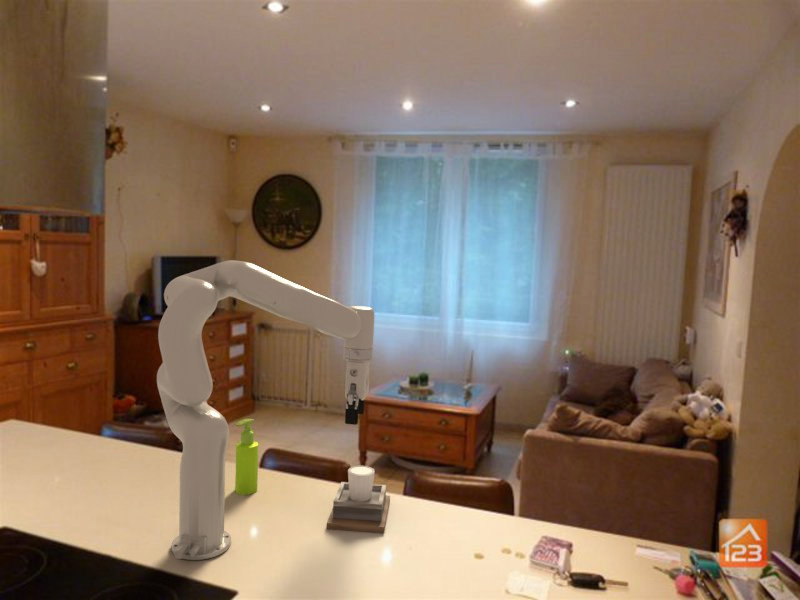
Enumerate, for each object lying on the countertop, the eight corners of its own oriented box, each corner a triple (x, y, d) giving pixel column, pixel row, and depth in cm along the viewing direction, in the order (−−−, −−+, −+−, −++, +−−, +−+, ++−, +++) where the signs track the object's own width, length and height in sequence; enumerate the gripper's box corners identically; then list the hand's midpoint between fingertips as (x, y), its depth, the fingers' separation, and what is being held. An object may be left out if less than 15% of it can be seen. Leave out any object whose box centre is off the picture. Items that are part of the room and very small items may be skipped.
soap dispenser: (227, 492, 160) (229, 421, 158) (245, 484, 166) (247, 415, 164) (244, 498, 157) (245, 425, 155) (261, 489, 163) (263, 418, 161)
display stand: (384, 533, 141) (385, 510, 141) (326, 529, 142) (327, 506, 142) (389, 501, 159) (390, 480, 159) (338, 497, 160) (339, 477, 159)
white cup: (372, 503, 147) (374, 476, 147) (345, 501, 147) (346, 474, 147) (374, 491, 154) (375, 465, 153) (348, 490, 154) (349, 464, 153)
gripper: (367, 361, 143) (363, 429, 145) (376, 349, 160) (373, 411, 162) (336, 358, 144) (333, 427, 145) (349, 347, 161) (346, 408, 162)
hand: (354, 418), depth 154 cm, fingers open, 9 cm apart
